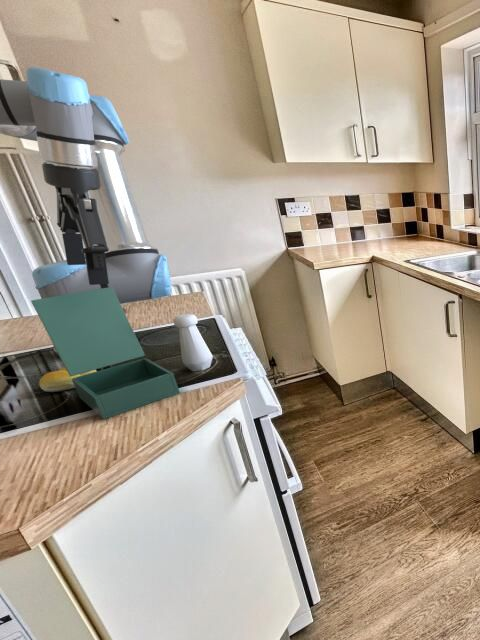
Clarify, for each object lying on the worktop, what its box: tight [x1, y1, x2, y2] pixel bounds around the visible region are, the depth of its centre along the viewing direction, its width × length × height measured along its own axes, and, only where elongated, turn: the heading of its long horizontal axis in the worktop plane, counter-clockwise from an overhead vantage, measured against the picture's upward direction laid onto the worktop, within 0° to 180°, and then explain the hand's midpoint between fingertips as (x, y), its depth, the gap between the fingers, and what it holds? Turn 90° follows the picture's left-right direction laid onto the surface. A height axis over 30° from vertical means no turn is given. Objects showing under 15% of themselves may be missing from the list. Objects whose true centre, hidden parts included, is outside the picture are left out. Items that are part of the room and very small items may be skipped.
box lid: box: [30, 287, 146, 377], centre depth 88 cm, size 16×12×1 cm
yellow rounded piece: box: [38, 365, 98, 393], centre depth 92 cm, size 8×9×4 cm
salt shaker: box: [172, 313, 214, 372], centre depth 97 cm, size 6×6×13 cm
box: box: [72, 357, 181, 420], centre depth 86 cm, size 15×12×5 cm
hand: (87, 274), depth 87 cm, fingers open, 13 cm apart
